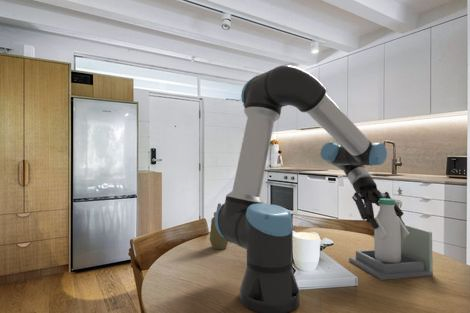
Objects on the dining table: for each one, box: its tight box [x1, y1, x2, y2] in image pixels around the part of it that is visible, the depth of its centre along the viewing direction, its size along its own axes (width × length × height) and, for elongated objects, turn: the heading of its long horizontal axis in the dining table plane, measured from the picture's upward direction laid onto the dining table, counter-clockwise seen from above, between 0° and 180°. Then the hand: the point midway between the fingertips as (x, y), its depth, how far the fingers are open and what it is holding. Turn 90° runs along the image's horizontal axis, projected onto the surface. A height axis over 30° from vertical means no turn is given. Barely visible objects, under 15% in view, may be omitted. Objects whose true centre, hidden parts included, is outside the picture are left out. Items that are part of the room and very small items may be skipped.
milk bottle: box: [373, 198, 401, 263], centre depth 90 cm, size 8×8×20 cm
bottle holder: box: [348, 224, 434, 281], centre depth 90 cm, size 18×16×13 cm
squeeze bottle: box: [209, 203, 229, 250], centre depth 112 cm, size 8×8×18 cm
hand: (395, 236), depth 87 cm, fingers closed on milk bottle, 7 cm apart
